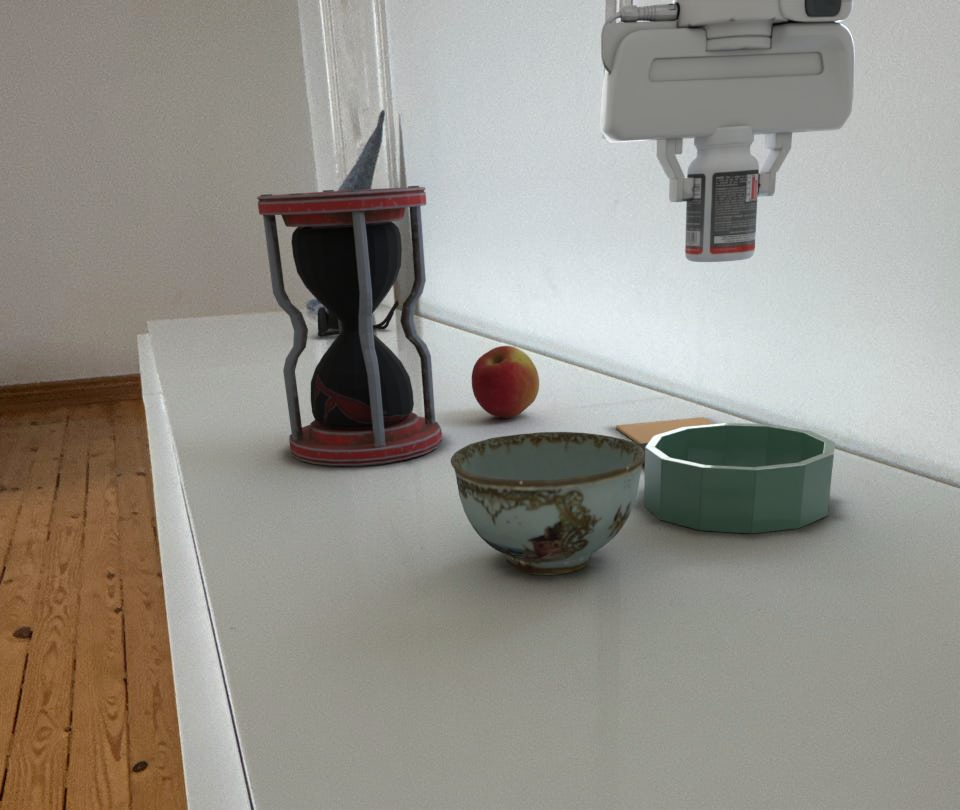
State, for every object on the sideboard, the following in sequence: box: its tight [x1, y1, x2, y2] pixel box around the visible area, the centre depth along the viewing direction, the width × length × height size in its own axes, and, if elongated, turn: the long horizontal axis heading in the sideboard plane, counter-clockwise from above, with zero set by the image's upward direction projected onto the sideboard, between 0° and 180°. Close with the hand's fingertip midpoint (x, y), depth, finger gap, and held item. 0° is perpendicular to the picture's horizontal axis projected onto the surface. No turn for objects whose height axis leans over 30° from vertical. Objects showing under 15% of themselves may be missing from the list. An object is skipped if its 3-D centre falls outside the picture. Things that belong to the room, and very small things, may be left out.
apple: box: [471, 345, 540, 419], centre depth 114 cm, size 8×8×8 cm
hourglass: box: [256, 185, 443, 467], centre depth 101 cm, size 16×16×25 cm
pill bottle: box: [684, 126, 760, 263], centre depth 82 cm, size 6×6×10 cm
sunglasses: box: [317, 299, 400, 337], centre depth 186 cm, size 17×14×5 cm
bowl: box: [450, 431, 646, 576], centre depth 71 cm, size 14×13×8 cm
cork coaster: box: [615, 417, 715, 444], centre depth 105 cm, size 10×10×1 cm
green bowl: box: [643, 422, 836, 535], centre depth 82 cm, size 15×15×5 cm
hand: (722, 199), depth 82 cm, fingers closed on pill bottle, 6 cm apart
